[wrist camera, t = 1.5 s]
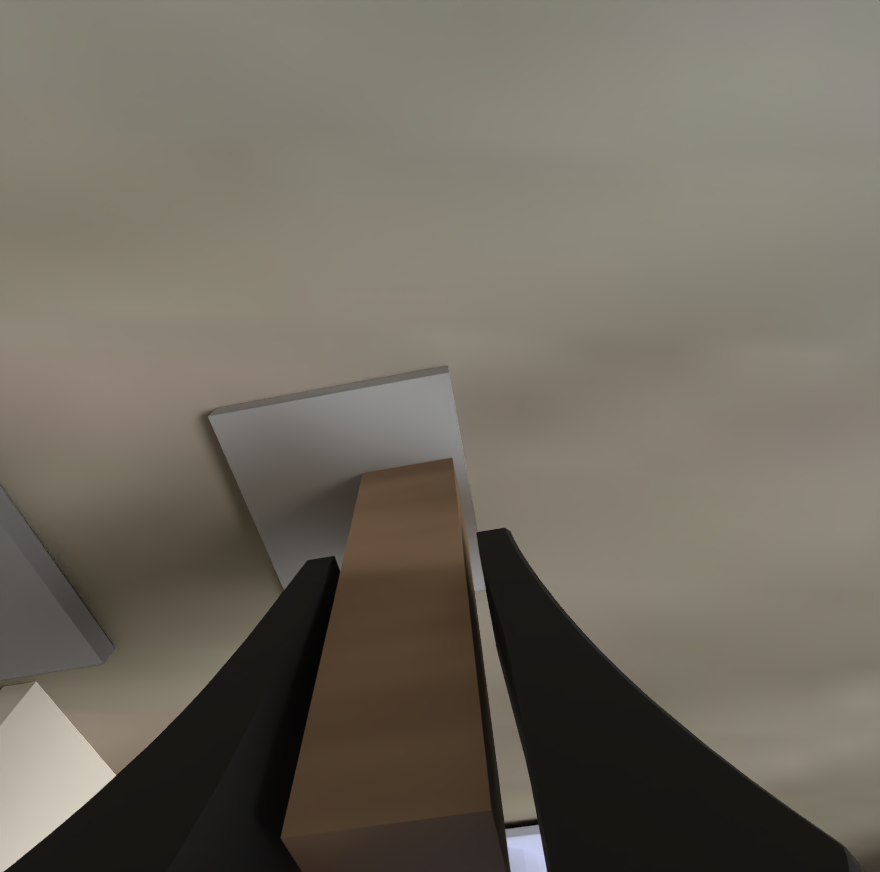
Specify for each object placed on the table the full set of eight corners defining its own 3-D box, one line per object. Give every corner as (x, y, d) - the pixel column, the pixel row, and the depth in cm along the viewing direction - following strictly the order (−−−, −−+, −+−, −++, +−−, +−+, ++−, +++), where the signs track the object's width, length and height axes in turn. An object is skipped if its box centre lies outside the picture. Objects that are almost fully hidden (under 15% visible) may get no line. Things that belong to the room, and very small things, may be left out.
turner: (485, 574, 15) (550, 971, 7) (301, 604, 15) (176, 1013, 8) (447, 364, 12) (491, 666, 4) (217, 407, 12) (-135, 758, 5)
